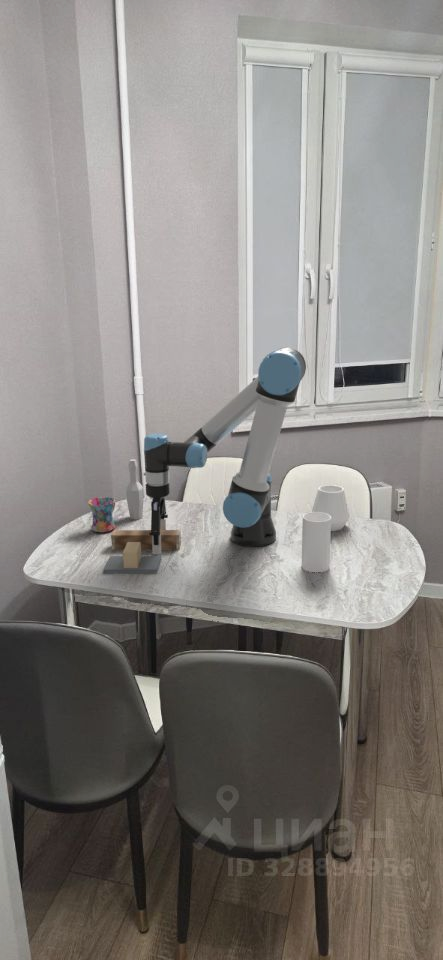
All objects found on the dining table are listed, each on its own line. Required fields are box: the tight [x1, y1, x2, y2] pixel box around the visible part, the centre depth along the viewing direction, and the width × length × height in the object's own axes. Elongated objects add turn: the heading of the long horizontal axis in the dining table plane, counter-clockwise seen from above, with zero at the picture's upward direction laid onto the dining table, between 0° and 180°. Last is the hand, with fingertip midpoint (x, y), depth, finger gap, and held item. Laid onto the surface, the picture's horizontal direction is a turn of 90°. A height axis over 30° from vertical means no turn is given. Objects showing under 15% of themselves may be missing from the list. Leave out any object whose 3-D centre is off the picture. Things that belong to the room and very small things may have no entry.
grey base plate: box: [102, 542, 162, 574], centre depth 186 cm, size 16×10×6 cm, turn 88°
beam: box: [110, 529, 182, 551], centre depth 200 cm, size 22×5×5 cm, turn 88°
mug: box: [87, 496, 116, 533], centre depth 216 cm, size 12×9×11 cm
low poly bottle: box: [125, 458, 144, 520], centre depth 225 cm, size 6×6×22 cm
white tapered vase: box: [311, 484, 350, 532], centre depth 214 cm, size 13×13×14 cm
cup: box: [301, 511, 332, 574], centre depth 182 cm, size 8×8×16 cm
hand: (159, 545), depth 201 cm, fingers open, 13 cm apart
